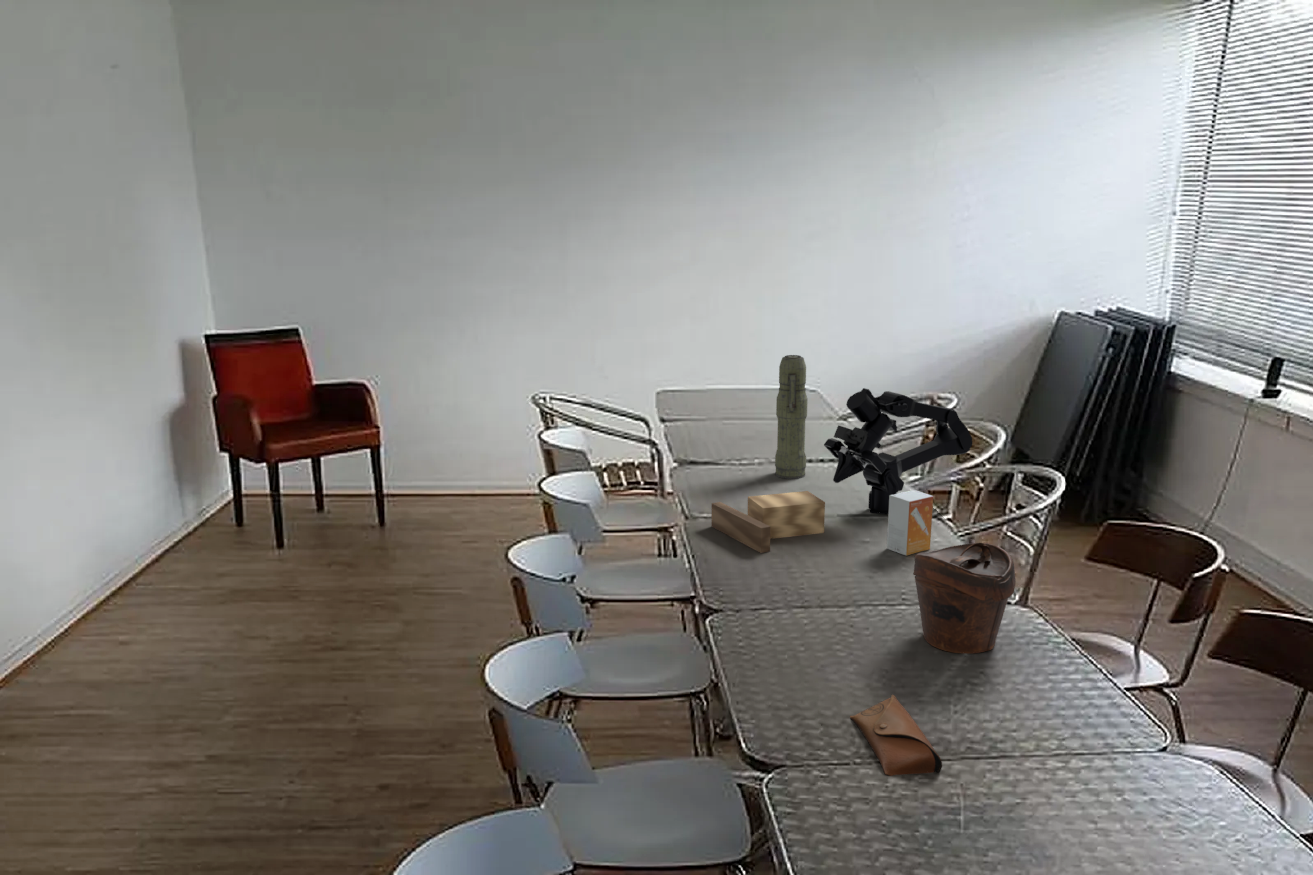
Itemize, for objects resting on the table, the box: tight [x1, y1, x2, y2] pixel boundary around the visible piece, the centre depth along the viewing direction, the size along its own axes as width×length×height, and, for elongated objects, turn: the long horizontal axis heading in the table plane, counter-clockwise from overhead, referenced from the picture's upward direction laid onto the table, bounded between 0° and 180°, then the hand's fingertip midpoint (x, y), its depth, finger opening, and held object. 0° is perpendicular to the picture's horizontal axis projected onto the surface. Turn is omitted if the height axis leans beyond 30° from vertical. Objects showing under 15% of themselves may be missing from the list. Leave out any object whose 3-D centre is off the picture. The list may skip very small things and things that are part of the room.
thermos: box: [774, 354, 808, 480], centre depth 293 cm, size 9×12×35 cm
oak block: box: [747, 490, 826, 540], centre depth 248 cm, size 16×10×8 cm, turn 106°
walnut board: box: [710, 501, 771, 554], centre depth 242 cm, size 2×22×6 cm, turn 28°
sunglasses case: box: [849, 694, 943, 777], centre depth 152 cm, size 18×7×7 cm
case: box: [912, 542, 1017, 655], centre depth 185 cm, size 18×20×18 cm
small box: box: [886, 489, 934, 557], centre depth 233 cm, size 8×6×13 cm
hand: (834, 481), depth 253 cm, fingers closed
